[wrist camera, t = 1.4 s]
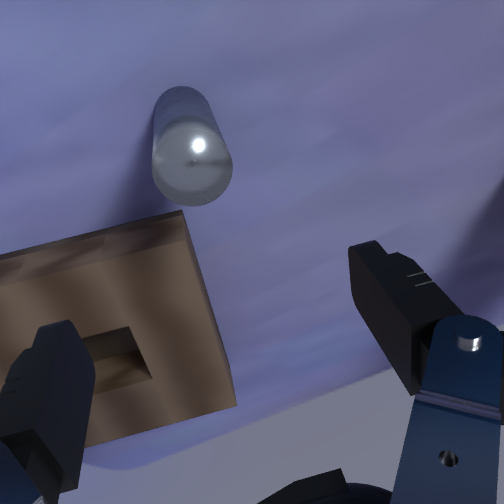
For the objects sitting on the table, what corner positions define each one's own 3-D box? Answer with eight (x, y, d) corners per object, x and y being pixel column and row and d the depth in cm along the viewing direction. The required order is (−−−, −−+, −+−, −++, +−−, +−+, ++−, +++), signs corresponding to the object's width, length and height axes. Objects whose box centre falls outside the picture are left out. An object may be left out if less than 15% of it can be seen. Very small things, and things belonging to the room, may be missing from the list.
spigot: (203, 80, 30) (223, 120, 21) (216, 136, 32) (239, 195, 23) (146, 93, 30) (140, 140, 21) (163, 149, 32) (165, 214, 23)
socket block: (181, 209, 35) (185, 239, 31) (229, 366, 44) (237, 405, 40) (-47, 266, 34) (-76, 306, 30) (52, 414, 43) (41, 459, 39)
